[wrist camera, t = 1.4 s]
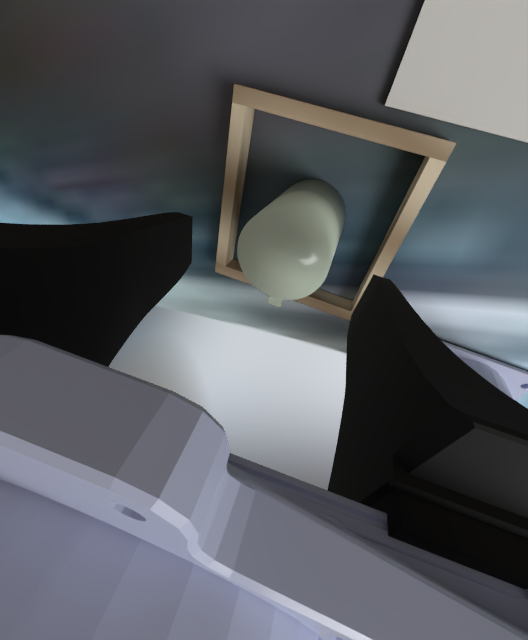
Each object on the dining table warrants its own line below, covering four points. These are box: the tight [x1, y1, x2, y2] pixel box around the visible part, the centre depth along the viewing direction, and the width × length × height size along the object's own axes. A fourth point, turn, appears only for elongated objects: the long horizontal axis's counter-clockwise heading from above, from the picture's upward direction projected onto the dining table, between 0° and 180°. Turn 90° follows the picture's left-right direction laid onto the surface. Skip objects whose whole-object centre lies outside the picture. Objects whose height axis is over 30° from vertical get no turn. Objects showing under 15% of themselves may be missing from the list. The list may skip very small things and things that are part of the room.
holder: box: [215, 84, 456, 321], centre depth 18 cm, size 12×12×2 cm
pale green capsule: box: [237, 179, 346, 308], centre depth 17 cm, size 6×5×7 cm
